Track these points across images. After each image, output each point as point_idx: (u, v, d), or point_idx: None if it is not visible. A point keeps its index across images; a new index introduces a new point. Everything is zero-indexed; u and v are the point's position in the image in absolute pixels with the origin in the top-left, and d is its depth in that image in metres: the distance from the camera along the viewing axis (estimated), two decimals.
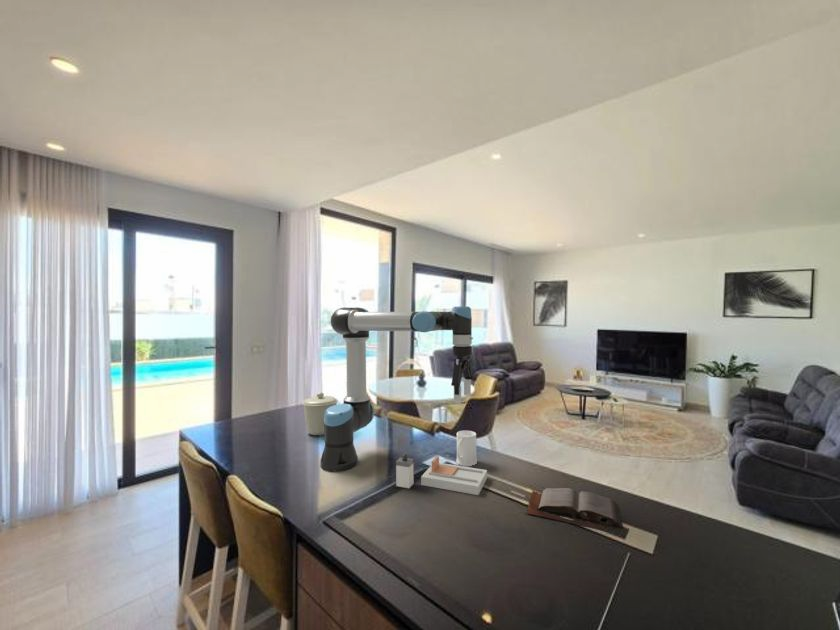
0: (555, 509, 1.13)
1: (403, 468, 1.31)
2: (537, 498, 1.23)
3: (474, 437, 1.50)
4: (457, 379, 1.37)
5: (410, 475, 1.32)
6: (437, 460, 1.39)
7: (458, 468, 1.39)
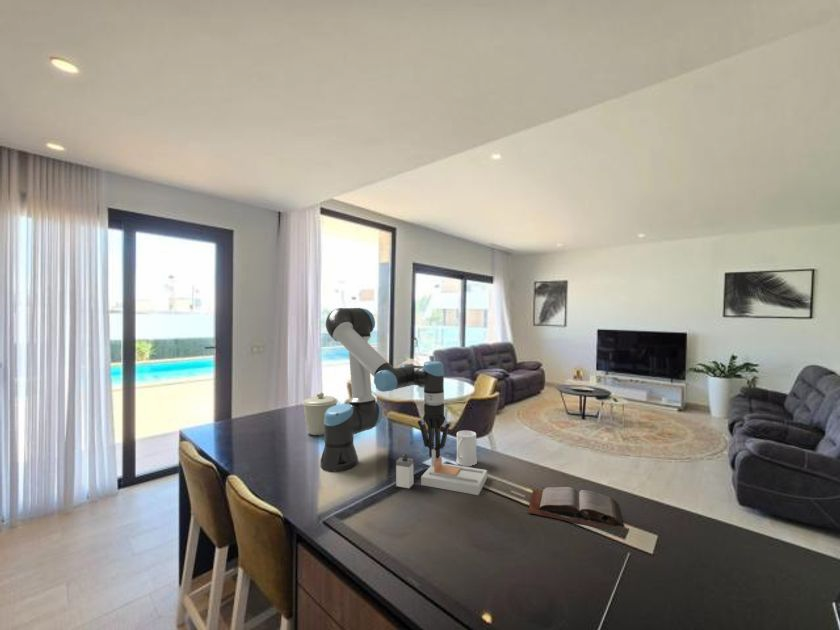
0: (557, 508, 1.14)
1: (403, 468, 1.31)
2: (537, 497, 1.23)
3: (474, 437, 1.50)
4: None
5: (410, 475, 1.32)
6: (440, 460, 1.39)
7: None
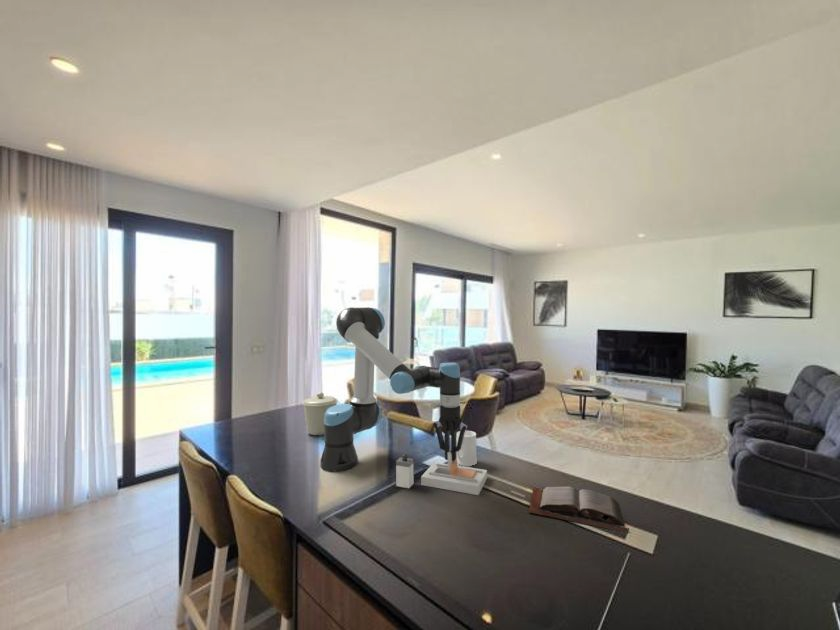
0: (557, 508, 1.14)
1: (403, 468, 1.31)
2: (538, 497, 1.23)
3: (474, 437, 1.50)
4: None
5: (410, 475, 1.32)
6: (455, 463, 1.36)
7: None
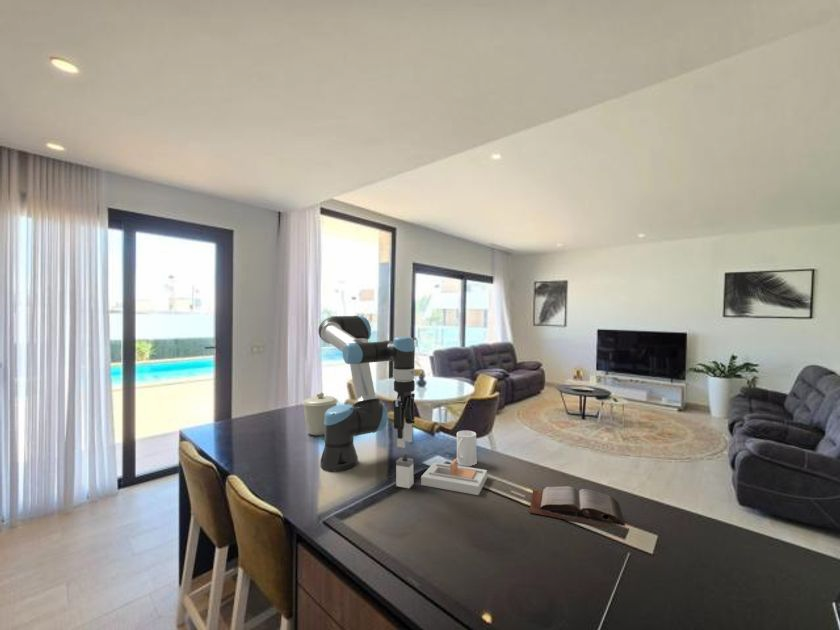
0: (557, 508, 1.14)
1: (403, 468, 1.31)
2: (538, 497, 1.24)
3: (474, 437, 1.50)
4: (399, 423, 1.27)
5: (410, 475, 1.32)
6: (455, 463, 1.36)
7: None
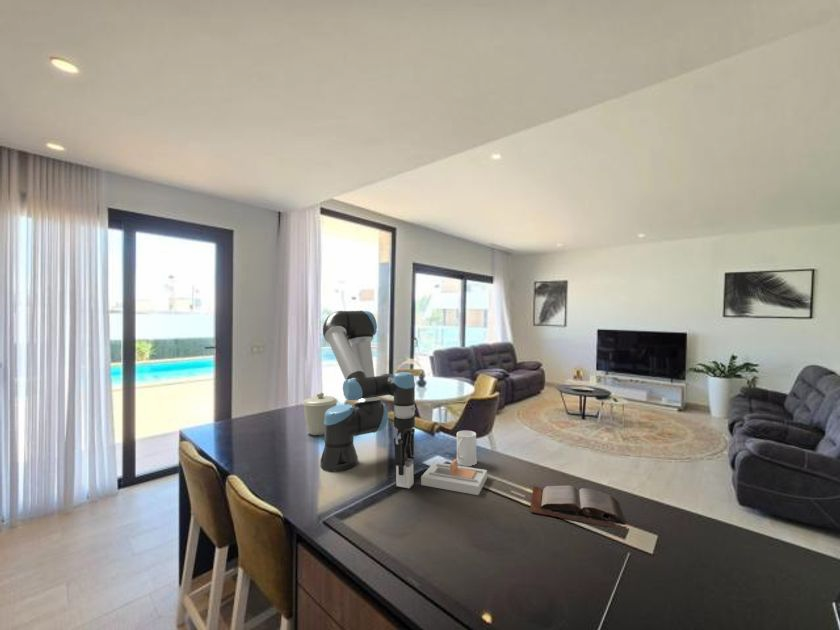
0: (558, 507, 1.14)
1: None
2: (538, 496, 1.24)
3: (474, 437, 1.50)
4: (400, 461, 1.28)
5: (410, 475, 1.32)
6: (455, 463, 1.36)
7: None
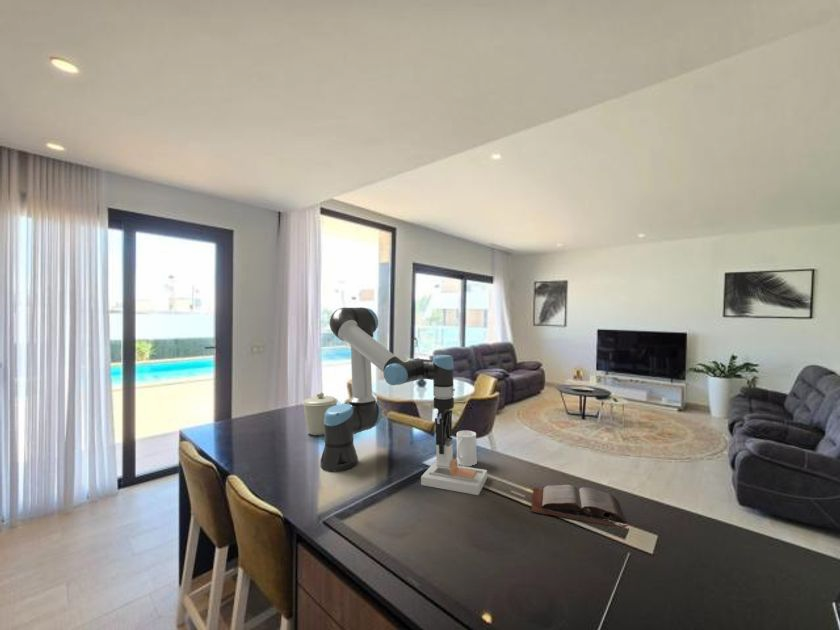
0: (559, 506, 1.15)
1: None
2: (539, 496, 1.24)
3: (474, 437, 1.50)
4: (441, 440, 1.31)
5: (450, 454, 1.36)
6: (455, 463, 1.36)
7: None
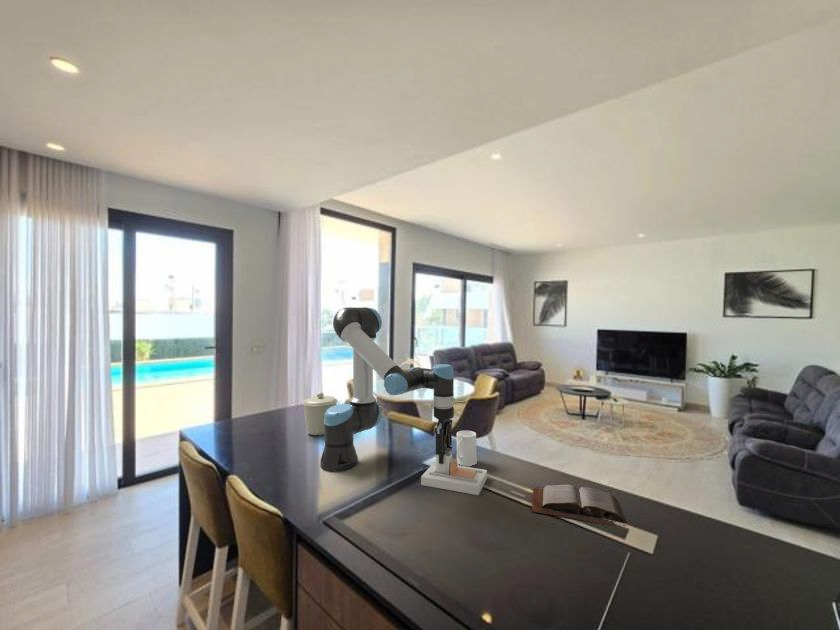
0: (559, 506, 1.15)
1: None
2: (539, 495, 1.24)
3: (474, 437, 1.50)
4: (441, 450, 1.32)
5: None
6: (455, 463, 1.36)
7: None
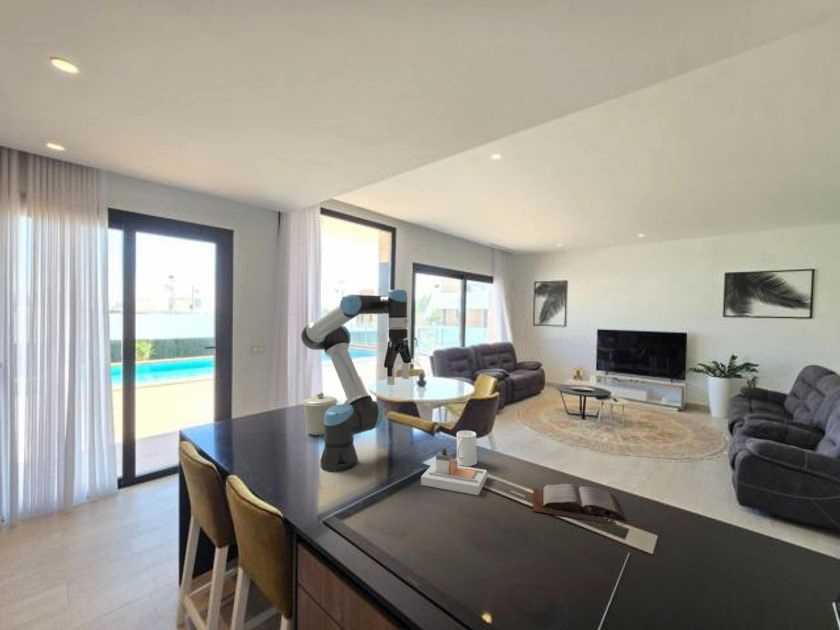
0: (560, 505, 1.16)
1: (443, 462, 1.35)
2: (539, 495, 1.25)
3: (474, 437, 1.50)
4: (389, 361, 1.38)
5: None
6: (455, 463, 1.36)
7: None
